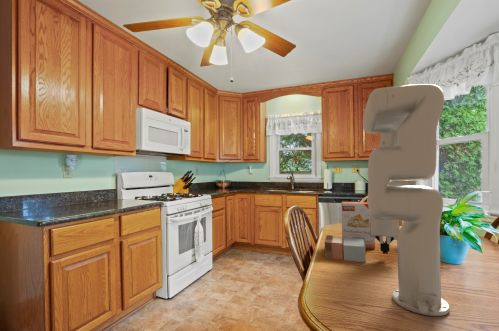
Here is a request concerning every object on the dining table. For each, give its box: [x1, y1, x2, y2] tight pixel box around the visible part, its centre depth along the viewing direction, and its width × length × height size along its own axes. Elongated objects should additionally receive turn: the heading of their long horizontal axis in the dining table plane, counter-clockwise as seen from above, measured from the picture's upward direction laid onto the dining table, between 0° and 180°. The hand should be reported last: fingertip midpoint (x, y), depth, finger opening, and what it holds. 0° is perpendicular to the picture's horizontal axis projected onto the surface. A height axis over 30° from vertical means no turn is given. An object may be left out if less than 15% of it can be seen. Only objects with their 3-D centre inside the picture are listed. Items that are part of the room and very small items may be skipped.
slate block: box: [343, 238, 366, 263], centre depth 104 cm, size 12×8×6 cm, turn 159°
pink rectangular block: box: [331, 236, 344, 260], centre depth 106 cm, size 10×4×6 cm, turn 159°
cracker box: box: [341, 201, 376, 250], centre depth 117 cm, size 14×6×21 cm, turn 73°
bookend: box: [324, 234, 333, 259], centre depth 107 cm, size 12×2×6 cm, turn 159°
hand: (385, 253), depth 99 cm, fingers closed
